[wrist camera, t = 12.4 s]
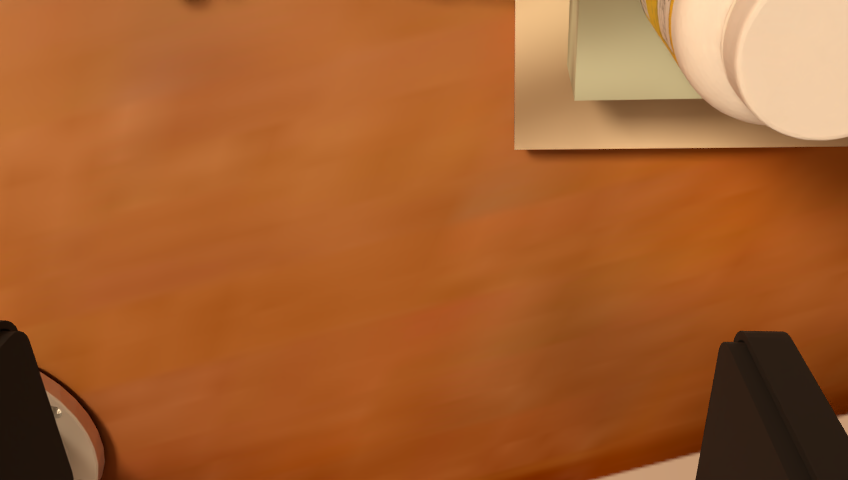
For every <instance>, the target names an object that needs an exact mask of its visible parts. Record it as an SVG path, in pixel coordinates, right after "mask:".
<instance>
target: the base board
mask: <svg viewBox="0 0 848 480" xmlns="http://www.w3.org/2000/svg"><path fill="white" fill-rule="evenodd" d="M514 146H515V150H539V149H640V148H740V147H841V146H848V137H845V138H840V139H835V140H803V139H797V138H793V137H790V136H786V135H784V134H781V133H779V132H777V131H775V130H773V129H771V128H769V127H768V126H766V125H757V124H752V123H747V122H744V121H741V120H737V119H735V118H733V117H730V116H728V115H726V114H724V113H722V112H720V111H719V110H717V109H715V108H714V107H712V106H711V105H710V104H709V103H707V102H706V101H705V100H704V99H703V98H702V97H701V96H700V95H699V94H698V93H697V92H696V91H695V89H694V88H693V87H692V86H691V84H690V83H689V81H688V80H687V78H686V77H685V75H684V74H683V72H682V71H681V69H680V68H679V66H678V65H677V63H676V61H675V60H674V58H673V57H672V55H671V54H670V52H669V51H668V49H667V48H666V46H665V45H664V43H663V42H662V40H661V39H660V37H659V36H658V34H657V33H656V31H655V30H654V28H653V27H652V25H651V23H650V22H649V20H648V18H647V17H646V15H645V13H644V11H643V9H642V6H641V3H640V0H515V113H514Z"/></svg>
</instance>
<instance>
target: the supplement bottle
mask: <svg viewBox="0 0 848 480" xmlns="http://www.w3.org/2000/svg"><path fill="white" fill-rule="evenodd" d="M640 3H641V6H642V9H643V11H644V13H645V15H646V17H647V18H648V20H649V22H650V23H651V25H652V27H653V28H654V30H655V31H656V33H657V34H658V36H659V37H660V39H661V40H662V42H663V43H664V45H665V46H666V48H667V49H668V51H669V52H670V54H671V55H672V57H673V58H674V60H675V61H676V63H677V65H678V66H679V68H680V69H681V71H682V72H683V74H684V75H685V77H686V78H687V80H688V81H689V83H690V84H691V86H692V87H693V88H694V89H695V91H696V92H697V93H698V94H699V95H700V96H701V97H702V98H703V99H704V100H705V101H706V102H707V103H709V104H710V105H711V106H712V107H714V108H715V109H717V110H719V111H720V112H722V113H724V114H726V115H728V116H730V117H733V118H735V119H737V120H741V121H744V122H747V123H752V124H757V125H766V126H768V127H769V128H771V129H773V130H775V131H777V132H779V133H781V134H784V135H786V136H790V137H793V138H797V139H803V140H835V139H840V138H845V137H848V0H640Z"/></svg>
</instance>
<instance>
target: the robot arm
mask: <svg viewBox="0 0 848 480" xmlns="http://www.w3.org/2000/svg"><path fill="white" fill-rule="evenodd" d="M104 464H105V458H104V447H103V444H102V441H101V438H100V435H99V432H98V430H97V428H96V426H95V425H94V423H93V421H92V420H91V418H90V416H89V415H88V413H87V412H86V411H85V410H84V409H83V407H82V406H81V405H80V404H79V402H78V401H77V400H76V399H75V398H74V397H73V396H72V395H71V394H69V393H68V392H67V391H66V390H65V389H64V388H63V387H62V386H61V385H59V384H58V383H56V382H55V381H53V380H52V379H51V378H49V377H48V376H46V375H45V374H43V373H42V372H40V371H39V369H38V366H37V362H36V359H35V356H34V353H33V350H32V347H31V344H30V341H29V339H28V337H27V335H26V334H25V333H24V332H20V331H18V330H17V328H16V326H15V325H14V324H13V323H12V322H9V321H3V320H0V480H100V479H101V477H102V475H103V469H104ZM696 480H848V435H847V434H846V432H845V430H844V428H843V427H842V425H841V423H840V422H839V420H838V418H837V416H836V415H835V413H834V411H833V409H832V408H831V406H830V404H829V403H828V401H827V399H826V397H825V396H824V394H823V392H822V390H821V389H820V387H819V385H818V384H817V382H816V380H815V378H814V377H813V375H812V373H811V372H810V370H809V368H808V366H807V365H806V363H805V361H804V359H803V358H802V356H801V354H800V353H799V351H798V349H797V347H796V346H795V344H794V342H793V340H792V339H791V337H790V336H789V335H788V334H787V333H786V332H775V331H740V332H738V333H737V334H736V336H735V338H734V342H723V343H722V344H721V346H720V348H719V352H718V358H717V363H716V369H715V374H714V380H713V386H712V391H711V397H710V402H709V408H708V413H707V419H706V425H705V430H704V436H703V441H702V447H701V452H700V458H699V464H698V469H697V475H696Z"/></svg>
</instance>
